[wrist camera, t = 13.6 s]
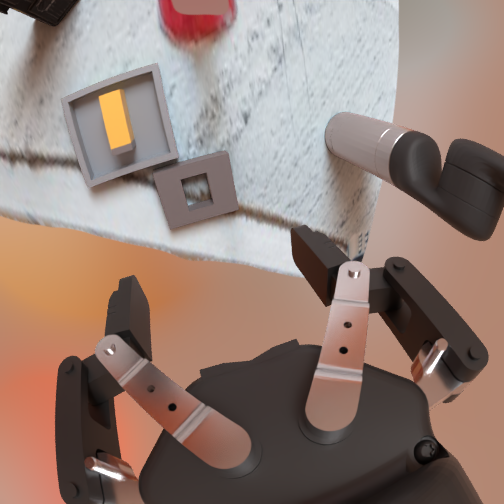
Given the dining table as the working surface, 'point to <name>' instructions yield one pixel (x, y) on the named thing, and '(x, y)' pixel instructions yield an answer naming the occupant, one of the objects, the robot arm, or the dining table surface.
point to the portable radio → (39, 9)
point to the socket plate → (217, 181)
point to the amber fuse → (117, 121)
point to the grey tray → (142, 120)
